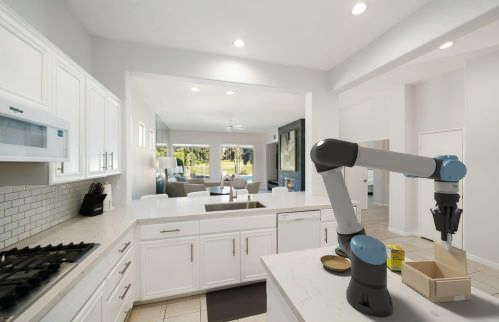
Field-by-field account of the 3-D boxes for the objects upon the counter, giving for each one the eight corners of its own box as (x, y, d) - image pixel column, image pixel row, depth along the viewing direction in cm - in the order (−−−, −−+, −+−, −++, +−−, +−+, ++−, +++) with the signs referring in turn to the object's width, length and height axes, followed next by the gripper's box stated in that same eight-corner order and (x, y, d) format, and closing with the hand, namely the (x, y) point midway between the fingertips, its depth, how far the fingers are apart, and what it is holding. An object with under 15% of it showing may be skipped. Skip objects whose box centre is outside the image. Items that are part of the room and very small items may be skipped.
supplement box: (405, 272, 98) (404, 250, 98) (391, 271, 99) (391, 249, 99) (398, 266, 104) (398, 245, 104) (385, 265, 105) (385, 244, 105)
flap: (464, 251, 79) (466, 251, 79) (433, 239, 91) (435, 239, 91) (465, 274, 79) (467, 274, 79) (434, 259, 91) (436, 259, 91)
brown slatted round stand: (361, 254, 118) (361, 240, 118) (346, 258, 113) (346, 244, 113) (344, 246, 129) (344, 234, 129) (330, 250, 124) (330, 237, 124)
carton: (433, 305, 76) (433, 281, 76) (398, 281, 91) (398, 261, 91) (473, 302, 77) (473, 278, 77) (432, 278, 93) (432, 259, 93)
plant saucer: (329, 275, 96) (329, 269, 96) (315, 260, 111) (315, 255, 111) (357, 273, 98) (357, 267, 98) (340, 258, 113) (340, 253, 113)
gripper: (441, 193, 81) (442, 253, 80) (470, 193, 82) (471, 251, 82) (423, 191, 88) (424, 245, 88) (450, 190, 89) (450, 244, 89)
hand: (446, 248), depth 85 cm, fingers closed
